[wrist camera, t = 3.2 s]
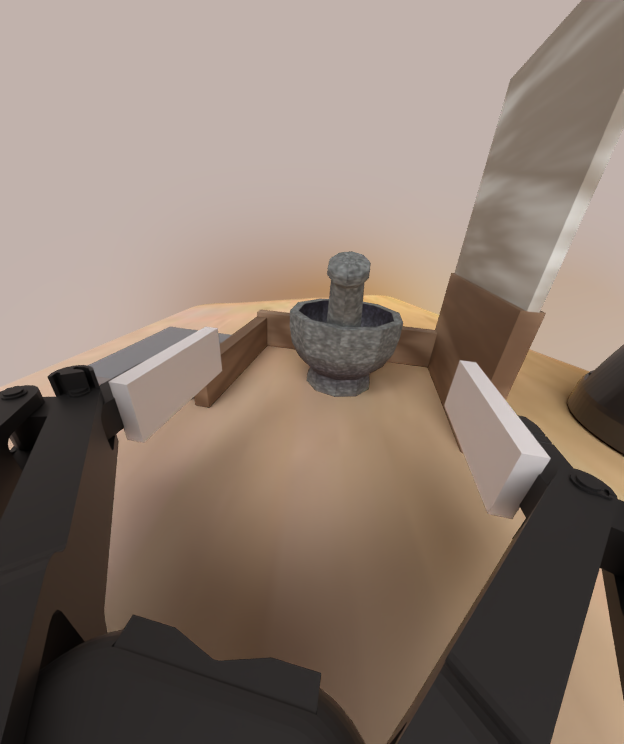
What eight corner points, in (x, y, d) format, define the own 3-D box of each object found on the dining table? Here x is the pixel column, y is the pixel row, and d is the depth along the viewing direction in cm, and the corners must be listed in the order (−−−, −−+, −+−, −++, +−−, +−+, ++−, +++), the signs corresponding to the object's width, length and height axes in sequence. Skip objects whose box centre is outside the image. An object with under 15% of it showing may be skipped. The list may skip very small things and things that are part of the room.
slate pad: (251, 343, 34) (251, 337, 34) (190, 400, 23) (188, 391, 22) (171, 332, 36) (170, 326, 35) (76, 380, 24) (73, 372, 24)
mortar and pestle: (302, 354, 32) (307, 241, 27) (383, 364, 31) (407, 248, 25) (273, 409, 22) (272, 247, 17) (391, 427, 21) (432, 260, 16)
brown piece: (436, 364, 32) (523, 79, 21) (479, 455, 19) (774, -176, 8) (261, 340, 35) (254, 82, 24) (195, 405, 22) (111, -95, 11)
